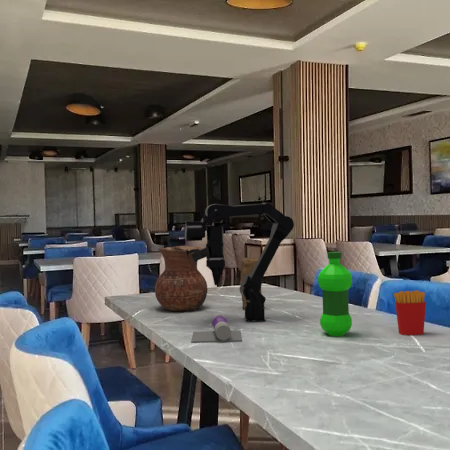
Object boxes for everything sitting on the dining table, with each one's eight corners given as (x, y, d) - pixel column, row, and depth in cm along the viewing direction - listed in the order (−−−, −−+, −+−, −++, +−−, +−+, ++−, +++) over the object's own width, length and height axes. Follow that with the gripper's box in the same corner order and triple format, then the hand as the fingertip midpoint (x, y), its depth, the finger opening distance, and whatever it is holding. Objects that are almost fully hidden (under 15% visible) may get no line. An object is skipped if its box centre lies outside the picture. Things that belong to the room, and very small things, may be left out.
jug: (215, 310, 206) (214, 246, 205) (163, 315, 198) (161, 249, 198) (197, 302, 226) (195, 244, 226) (149, 306, 219) (147, 246, 218)
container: (221, 312, 169) (226, 321, 154) (229, 324, 169) (234, 335, 154) (209, 320, 169) (212, 330, 154) (216, 332, 169) (220, 343, 154)
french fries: (422, 331, 161) (421, 289, 161) (428, 334, 157) (427, 291, 157) (392, 332, 161) (391, 290, 161) (397, 335, 157) (396, 292, 156)
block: (262, 310, 204) (261, 258, 204) (243, 310, 204) (241, 259, 203) (259, 305, 215) (257, 256, 215) (240, 306, 215) (239, 257, 214)
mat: (240, 331, 167) (240, 330, 167) (242, 341, 154) (242, 339, 154) (193, 332, 167) (193, 331, 167) (191, 342, 154) (191, 341, 154)
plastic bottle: (340, 329, 167) (338, 250, 167) (360, 335, 158) (358, 252, 157) (313, 332, 164) (311, 252, 163) (331, 339, 154) (329, 254, 154)
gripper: (192, 239, 192) (194, 282, 192) (190, 242, 173) (191, 289, 173) (223, 238, 192) (224, 281, 192) (224, 241, 173) (225, 288, 174)
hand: (216, 285), depth 183 cm, fingers closed
